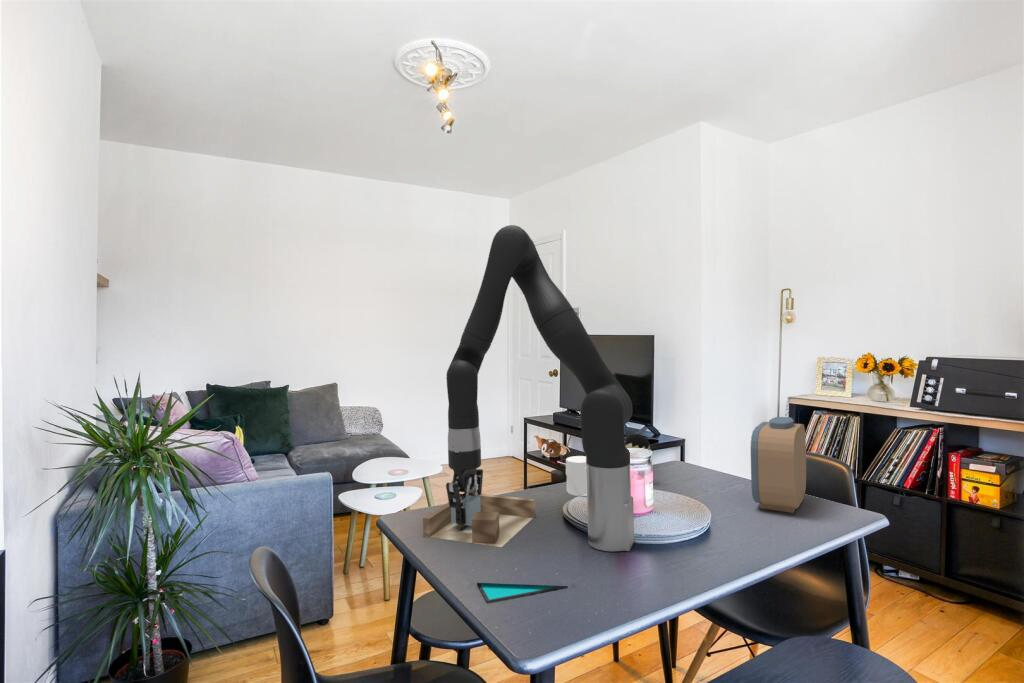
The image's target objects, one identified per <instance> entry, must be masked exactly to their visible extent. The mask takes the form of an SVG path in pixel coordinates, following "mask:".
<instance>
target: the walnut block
mask: <svg viewBox="0 0 1024 683" xmlns="http://www.w3.org/2000/svg"><path fill="white" fill-rule="evenodd" d="M498 537H499V512H476V513H475V515H474V517H473V518H472V543H471V544H475V543H489V544H496V542H497V539H498Z"/></svg>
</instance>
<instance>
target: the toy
mask: <svg viewBox="0 0 1024 683" xmlns="http://www.w3.org/2000/svg"><path fill="white" fill-rule="evenodd" d="M650 445H651V444H650V442H649V440H648V438H646V437H645V436H644V435H642V434H639V433H633V434H630V435H629V436H627V437H626V438H625V446H626V448H644V449H648V450H650V449H651V446H650ZM650 451H651V450H650ZM649 460H650V463H651V465H652V464H653V461H652V460H651V459H649Z"/></svg>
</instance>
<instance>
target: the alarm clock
mask: <svg viewBox="0 0 1024 683" xmlns="http://www.w3.org/2000/svg"><path fill="white" fill-rule="evenodd" d="M794 422H795V420H794V419H793V418H792V417H787V416H775V417H772V418H771V419H769V421H762V422H761V423H759V424H758V425H757V426H756V427H754V429H753V430H752V433H751V439H750V480H751V481H750V483H751V484H750V485H751V495H752V499H753V500H754V502H755V503H757V504H759V509H764V510H772V511H778V512H785V513H791V514H794V512H795V511H796V509H798V508H799V507H800V505H801V503H802V501H803V500H804V497H805V494H806V490H807V489H806V488H807V451H806V450H807V447H806V446H807V445H806V443H807V442H806V429H805V424H804V423H794Z"/></svg>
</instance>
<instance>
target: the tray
mask: <svg viewBox="0 0 1024 683" xmlns="http://www.w3.org/2000/svg"><path fill="white" fill-rule="evenodd" d="M462 494H464V492H462ZM478 497H480V506H481V512H499V537H498V539H497V542H496V544H489V543H474V545H475V544H476V545H482V546H491V547H497V548H503V547H504V546H505V545H506V544H507V543H508V542H509V541H510V540H511V539H512V538H513V537H515V535H517V534H518V533H519V532H520V531H521V530H523V528H524V527H525V526H526V525H527V524H529V522H530V521H532V520H533V519H534V518H535V517H536V499H535V498H526V497H518V496H516V497H515V496H508V495H506V496H505V495H499V494H498V495H497V494H489V493H488V494H487V493H481V495H478ZM453 500H454V499H453ZM422 531H423V532H422V533H423V536H422V537H427V538H435V539H441V540H448V541H453V542H454V541H456V542H462V543H469V544H473V543H472V525H471V526H468V525H459V524H454V523H451V507H450V506H449V501H448V502H447V503H445V504H444V505H442V506H440V507H438V508H436V509H435V510H434V511H432V512H431V513H428V514H427V515H425V516H424V517H422Z"/></svg>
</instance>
